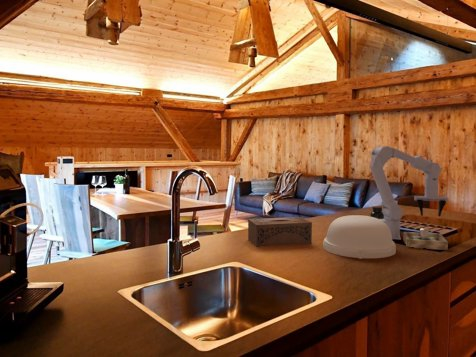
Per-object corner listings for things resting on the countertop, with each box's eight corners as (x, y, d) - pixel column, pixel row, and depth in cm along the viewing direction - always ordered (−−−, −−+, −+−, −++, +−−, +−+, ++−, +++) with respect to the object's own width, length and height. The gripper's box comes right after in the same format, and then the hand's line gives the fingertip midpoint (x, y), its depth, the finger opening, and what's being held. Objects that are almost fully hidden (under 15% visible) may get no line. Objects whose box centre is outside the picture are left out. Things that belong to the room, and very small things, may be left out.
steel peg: (419, 244, 181) (420, 229, 181) (419, 243, 185) (419, 227, 184) (428, 245, 180) (429, 229, 179) (428, 243, 183) (428, 228, 183)
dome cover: (401, 261, 156) (402, 225, 155) (321, 256, 163) (321, 222, 162) (390, 242, 187) (391, 212, 186) (324, 239, 194) (324, 209, 193)
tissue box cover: (299, 237, 198) (300, 216, 197) (311, 244, 183) (311, 222, 183) (248, 240, 192) (248, 219, 191) (256, 247, 178) (256, 224, 177)
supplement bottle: (381, 228, 217) (382, 206, 216) (385, 231, 210) (386, 208, 209) (368, 228, 218) (369, 205, 217) (371, 230, 211) (372, 207, 210)
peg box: (406, 247, 177) (406, 239, 176) (403, 239, 192) (403, 231, 192) (447, 250, 172) (447, 241, 172) (440, 241, 187) (440, 234, 187)
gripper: (415, 188, 193) (414, 216, 194) (449, 188, 188) (448, 217, 189) (414, 186, 199) (413, 214, 200) (447, 187, 195) (446, 215, 196)
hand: (430, 215), depth 195 cm, fingers open, 7 cm apart
